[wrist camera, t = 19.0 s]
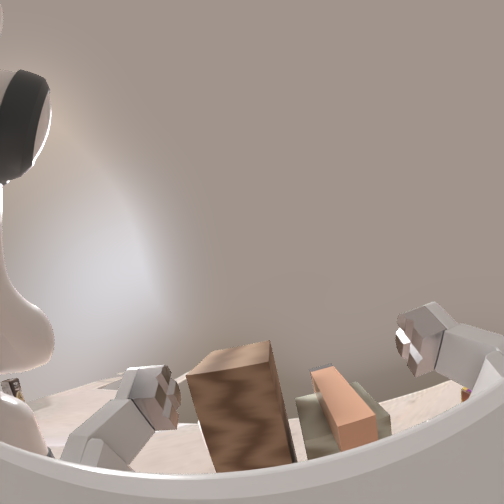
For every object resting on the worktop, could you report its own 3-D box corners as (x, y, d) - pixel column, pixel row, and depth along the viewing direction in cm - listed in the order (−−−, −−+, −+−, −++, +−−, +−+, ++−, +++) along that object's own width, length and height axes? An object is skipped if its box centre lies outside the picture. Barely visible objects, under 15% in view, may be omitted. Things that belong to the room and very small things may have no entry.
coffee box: (22, 417, 74) (10, 381, 76) (11, 417, 72) (-1, 381, 74) (29, 412, 82) (18, 377, 85) (18, 412, 80) (8, 378, 82)
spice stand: (236, 527, 27) (183, 377, 31) (246, 471, 44) (212, 351, 48) (393, 493, 26) (379, 333, 30) (364, 446, 43) (344, 321, 47)
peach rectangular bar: (342, 456, 23) (337, 426, 24) (313, 389, 47) (309, 369, 47) (378, 444, 23) (375, 414, 24) (334, 383, 47) (331, 363, 47)
